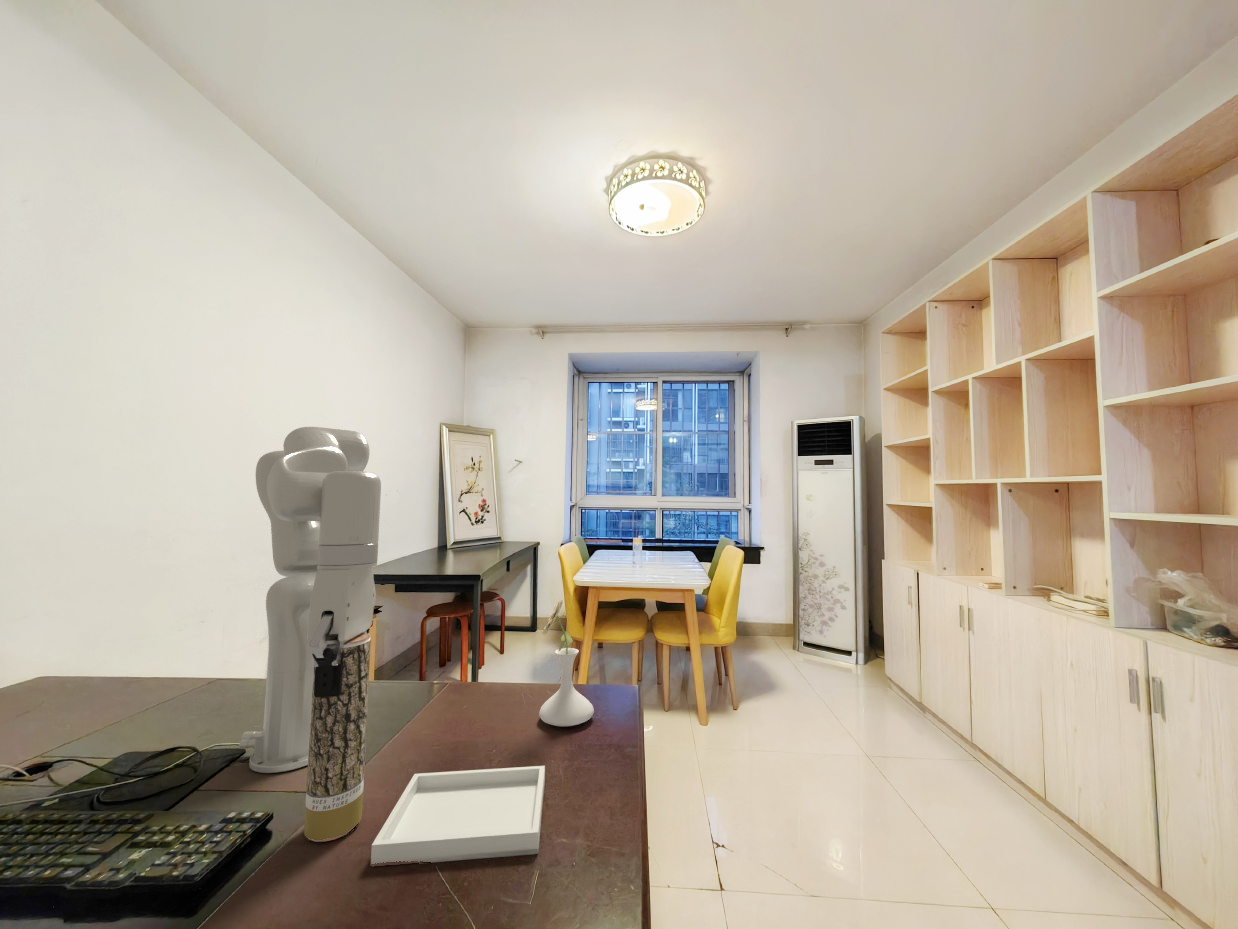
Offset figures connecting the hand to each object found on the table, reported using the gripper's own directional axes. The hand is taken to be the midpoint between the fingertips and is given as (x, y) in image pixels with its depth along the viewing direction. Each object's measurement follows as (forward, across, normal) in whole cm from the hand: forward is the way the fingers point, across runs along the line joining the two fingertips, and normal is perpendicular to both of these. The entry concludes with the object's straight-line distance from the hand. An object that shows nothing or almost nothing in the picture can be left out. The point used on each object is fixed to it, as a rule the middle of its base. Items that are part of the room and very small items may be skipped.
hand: (341, 684), depth 66 cm
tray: (+19, 0, +18) cm, 26 cm away
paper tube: (+19, 0, 0) cm, 19 cm away
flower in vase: (+19, -30, +31) cm, 47 cm away
